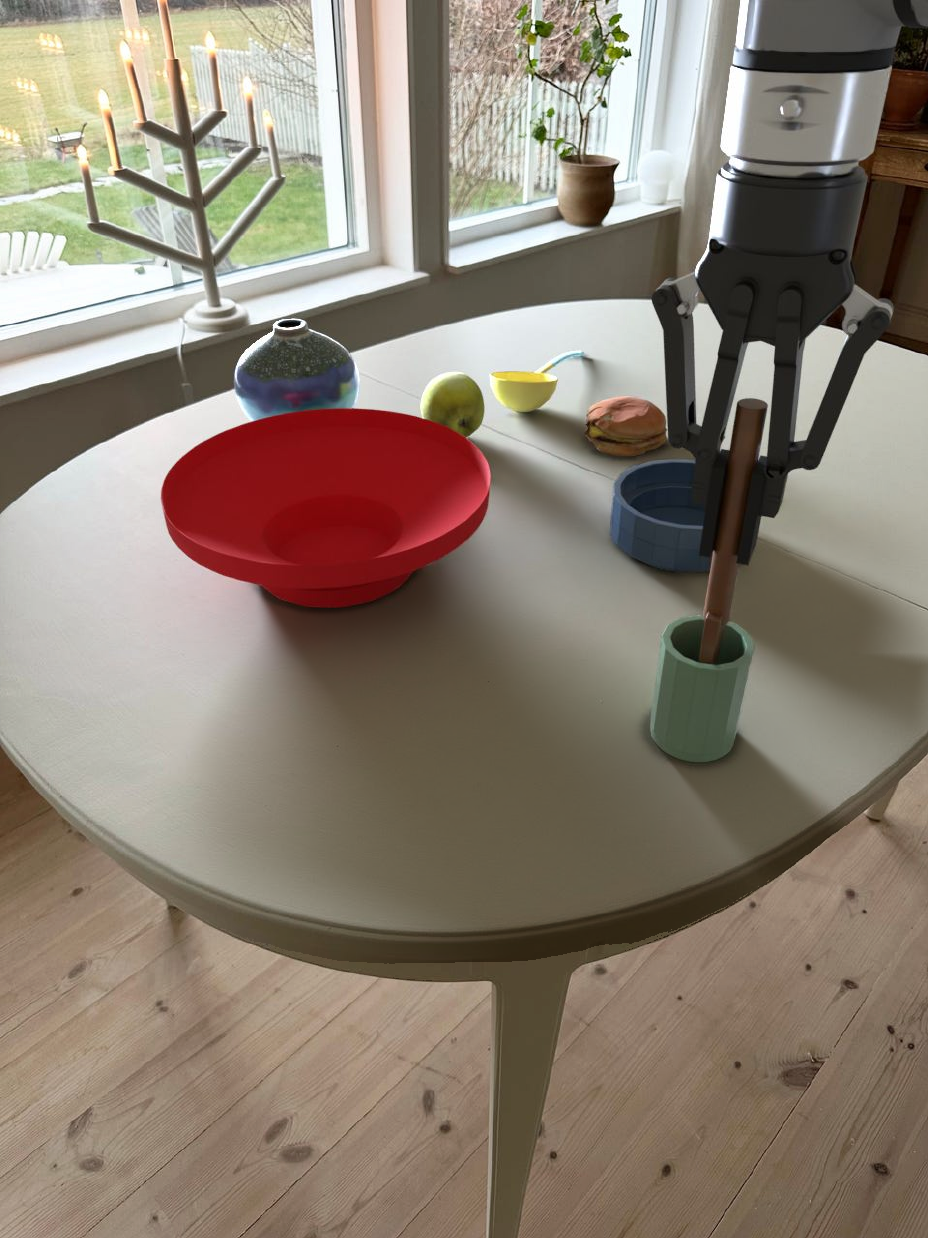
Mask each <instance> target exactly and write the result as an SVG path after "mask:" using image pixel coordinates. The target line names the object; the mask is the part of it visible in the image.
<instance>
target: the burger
mask: <svg viewBox="0 0 928 1238" xmlns="http://www.w3.org/2000/svg"><path fill="white" fill-rule="evenodd" d="M584 425H585V426H586V428H587V429H586V430H585V431H583V435H585V436H586V437H587V438H588V441H589V442H590V444H591V443H592V444H594V446H595V449H596V450H597V451H599V452H600V453H602V454H606V455H611V456H615V457H623V458H626V457H635V456H640V455H642V454H645V453H646V452H649V451H654V450H656V449H658V448H660V447H662V446H663V445H665V444H666V442H667V432H668V428H667V416H666V415H665V413H664V412H663V411H662V409H661V408H659V407H658V406H657V405H656V404H654V403H652V402H651V401H649V400H647V399H643V398H639V397H636V396H629V395H628V396H627V395H626V396H616V397H612V398H607V399H603V400H600V401H598V402H596V403H594V404H593V405H591V406H590V407H589V408H588V409H587V410H586V421H585V424H584Z"/></svg>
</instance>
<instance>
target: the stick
mask: <svg viewBox="0 0 928 1238" xmlns="http://www.w3.org/2000/svg"><path fill="white" fill-rule="evenodd" d="M768 408H769V405H768V403H767V402H766V401H764V400H762V399H759V398H754V397H747V398H742V399H738V400H737V402H736V407H735V411H734V420H733V426H732V431H731V438H730V444H729V449H728V450H729V456H728V464H727V470H726V476H725V482H724V489H723V495H722V501H721V507H720V514H719V520H718V526H717V532H716V539H715V545H714V550H713V556H712V563H711V569H710V571H709V576H708V581H707V588H706V595H705V600H704V607H703V613H702V615H703V620H704V621H705V625H704V631H703V637H702V643H701V649H700V656H699V662H698V663H704V664H713V665H715V664H716V661H717V659H718V656H719V654H720V649H721V644H722V638H723V632H724V627H725V625H726V624H727V623H728V622H729V621H730V619H731V613H732V607H733V601H734V595H735V591H736V584H737V579H738V574H739V568H740V564H738V563H736V562H737V557H738V551H739V545H740V540H741V534H742V528H743V523H744V517H745V511H746V506H747V500H748V495H749V489H750V483H751V478H752V473H753V471H754V468H755V466H756V465H757V464H758V460H759V457H760V452H761V447H762V440H763V435H764V429H765V423H766V419H767V413H768Z"/></svg>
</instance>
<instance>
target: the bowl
mask: <svg viewBox="0 0 928 1238" xmlns="http://www.w3.org/2000/svg"><path fill="white" fill-rule="evenodd" d="M491 474H492V473H491V469H490V465H489V462H488V460H487V459H486V457H485V455H484V453H483V452H482V450H481V449H479V448H478V447H477V445H476V444H474V443H473V442H472V441H471V440H470V439H468V437H466V438H465V437H464V436H463V435H461V434H459V433H458V432H456V431H454V430H452V429H450V428H448V427H446V426H444V425H441V424H438V423H436V422H433V421H430V420H427V419H423V417H421V416H420V417H419V416H417V415H413V414H408V413H403V412H397V411H391V410H382V409H372V408H355V407H354V408H336V409H317V410H307V411H299V412H292V413H286V414H280V415H275V416H271V417H267V418H262V419H259V420H255V421H249V422H245V423H242V424H240V425H237V426H233V427H231V428H229V429H226V430H224V431H221V432H219V433H217V434H215V435H213V436H211V437H209V438H207V439H205V440H203V441H202V442H200V443H198V444H197V445H195V446H194V447H192V448H191V449H190V450H189V451H187V452H186V453H185V454H183V455H182V456H181V457H180V458H179V459H178V460H177V461H176V462H174V464H173V465H172V467H171V468H170V470H169V471H168V472H167V474H166V476H165V478H164V479H163V482H162V485H161V490H160V503H161V507H162V513H163V516H164V520H165V525H166V529H167V532H168V534H169V537H170V538H171V540H172V542H173V543H174V544H175V546H176V547H177V548H178V549H179V550H180V551H181V552H182V553H183V554H184V555H185V556H186V557H188V558H189V559H190V560H192V562H193V561H194V562H195V563H196V564H197V565H199V566H202V567H203V568H205V569H207V570H209V571H211V572H214V573H216V574H219V575H221V576H225V577H227V578H230V579H234V580H237V581H241V582H245V583H250V584H253V585H259V586H262V588H263V589H264V590H266V591H267V592H269V593H270V594H271V595H272V596H274V597H275V598H277V599H279V600H282V601H284V602H288V603H291V604H295V605H299V606H302V607H308V608H346V607H350V606H355V605H360V604H365V603H370V602H372V601H376V600H377V599H380V598H382V597H384V596H387V595H388V594H390V593H392V592H394V591H395V590H397V589H398V588H400V587H401V586H402V585H403V584H404V583H406V581H407V580H408V579H409V577H410V576H411V575H412V574H413V572H414V571H416V570H420V569H421V568H424V567H426V566H428V565H430V564H433V563H435V562H437V561H439V560H441V559H442V558H444V557H446V556H448V555H449V554H451V553H452V552H453V551H455V550H457V549H458V548H459V547H461V546H462V545H463V544H465V542H467V541H468V540H469V539H470V538H471V537H472V536H473V535H474V534H475V532H476V531H477V530H478V529H479V527H480V526H481V525H482V523H483V521H484V519H485V517H486V515H487V512H488V510H489V502H490V493H491V480H492V479H491V478H492V475H491Z"/></svg>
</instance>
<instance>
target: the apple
mask: <svg viewBox="0 0 928 1238" xmlns="http://www.w3.org/2000/svg"><path fill="white" fill-rule="evenodd" d="M420 413H421V416H422V417H421V418H423V419H427V420H430V421H433V422H436V423H438V424H441V425H444V426H446V427H448V428H450V429H452V430H454V431H456V432H458V433H459V434H461V435H463V436H464V437H465V438H468V437H471V435H472V434H473V433H475V432H476V431H477V430H479V428H480V427H481V425H482V423H483V421H484V416H485V400H484V395H483V392H482V390H481V388H480V386H479V385H478V383H477V382H476V381H475V380H474V379H473V378H472V377H470V376H469V375H467V374H466V373H464V372H461V371H451V372H445V373H442V374H440V375H438V376H436V377H434V378H433V379H431V381H430V382H429V383H428V384H427V386H426V387H425V389H424V391H423V393H422V396H421V400H420Z"/></svg>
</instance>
